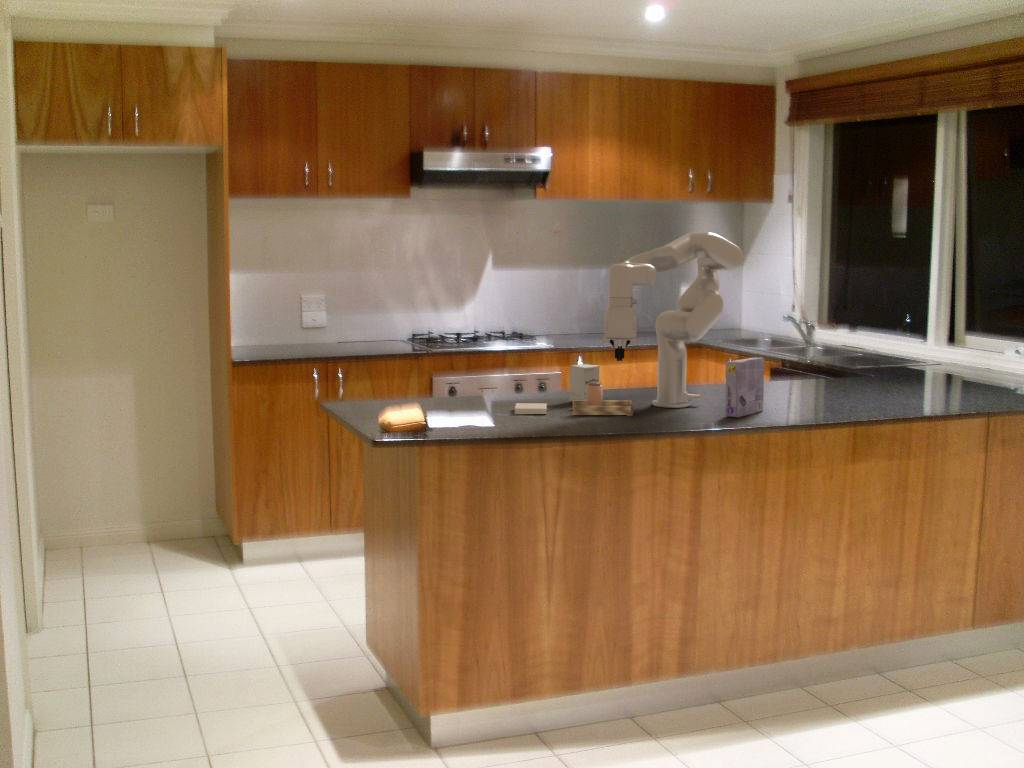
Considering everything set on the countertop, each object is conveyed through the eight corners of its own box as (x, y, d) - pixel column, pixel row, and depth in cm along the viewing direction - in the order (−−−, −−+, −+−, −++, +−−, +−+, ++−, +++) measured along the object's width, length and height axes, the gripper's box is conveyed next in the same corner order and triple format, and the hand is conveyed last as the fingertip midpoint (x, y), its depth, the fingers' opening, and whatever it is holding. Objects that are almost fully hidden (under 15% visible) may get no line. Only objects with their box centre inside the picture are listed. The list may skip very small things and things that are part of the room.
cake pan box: (751, 409, 359) (753, 355, 357) (765, 410, 356) (767, 356, 354) (723, 417, 345) (724, 361, 342) (737, 419, 342) (739, 362, 339)
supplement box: (583, 404, 368) (584, 367, 366) (568, 402, 373) (569, 365, 371) (599, 402, 372) (600, 365, 370) (584, 399, 378) (585, 363, 376)
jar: (602, 411, 355) (602, 381, 354) (602, 414, 350) (602, 383, 349) (586, 411, 355) (586, 381, 354) (586, 413, 350) (587, 383, 349)
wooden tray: (630, 409, 358) (631, 400, 357) (633, 416, 346) (633, 406, 346) (572, 409, 359) (572, 400, 358) (572, 415, 347) (573, 406, 347)
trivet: (546, 409, 358) (546, 403, 358) (546, 414, 349) (546, 408, 348) (516, 409, 359) (516, 403, 359) (514, 414, 349) (514, 408, 349)
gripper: (643, 302, 350) (642, 359, 353) (596, 301, 351) (595, 358, 354) (645, 304, 343) (643, 362, 346) (597, 303, 344) (596, 361, 346)
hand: (619, 360), depth 350 cm, fingers closed
